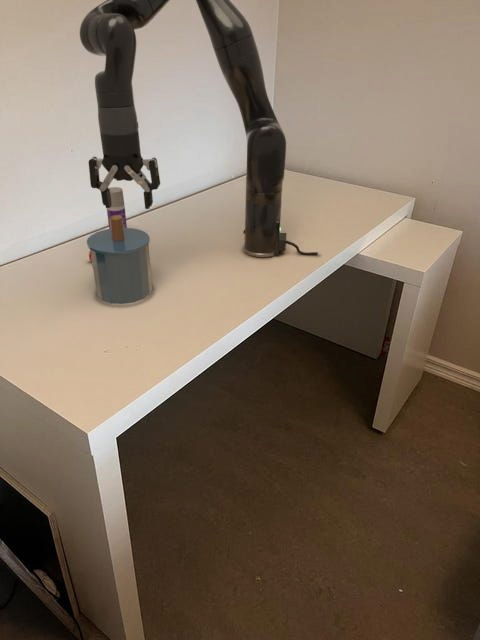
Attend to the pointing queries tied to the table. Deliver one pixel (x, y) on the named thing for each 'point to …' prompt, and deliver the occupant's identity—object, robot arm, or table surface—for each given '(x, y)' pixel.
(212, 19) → the robot arm
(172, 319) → the table surface
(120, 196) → the container
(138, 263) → the grey cylindrical canister
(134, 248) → the lid
